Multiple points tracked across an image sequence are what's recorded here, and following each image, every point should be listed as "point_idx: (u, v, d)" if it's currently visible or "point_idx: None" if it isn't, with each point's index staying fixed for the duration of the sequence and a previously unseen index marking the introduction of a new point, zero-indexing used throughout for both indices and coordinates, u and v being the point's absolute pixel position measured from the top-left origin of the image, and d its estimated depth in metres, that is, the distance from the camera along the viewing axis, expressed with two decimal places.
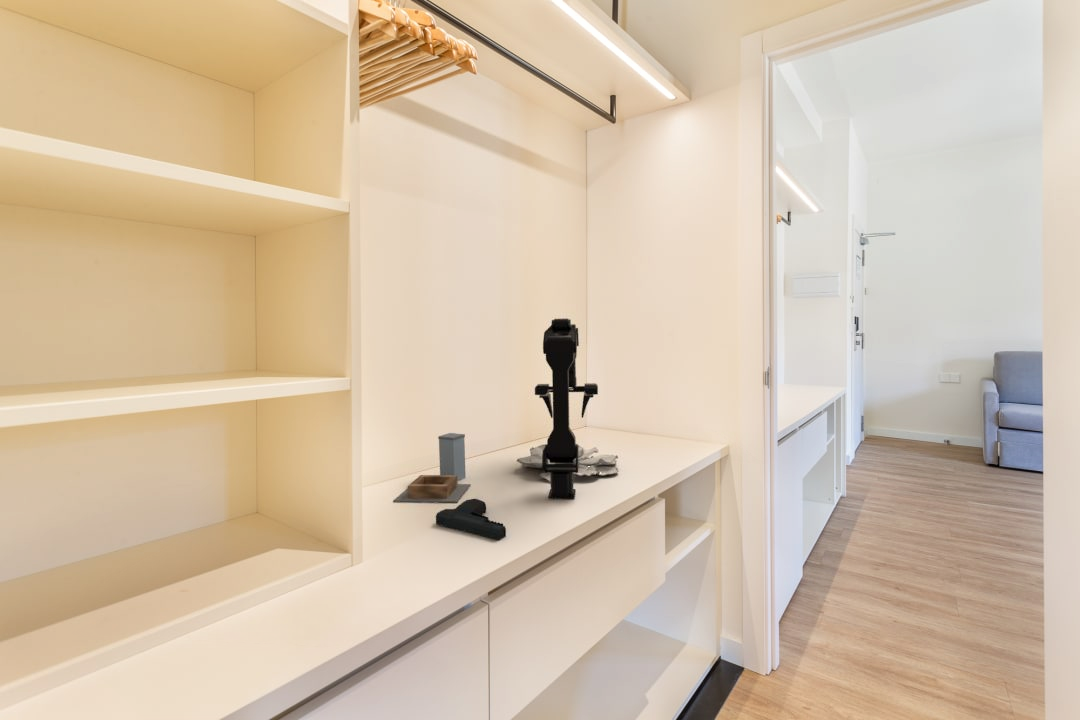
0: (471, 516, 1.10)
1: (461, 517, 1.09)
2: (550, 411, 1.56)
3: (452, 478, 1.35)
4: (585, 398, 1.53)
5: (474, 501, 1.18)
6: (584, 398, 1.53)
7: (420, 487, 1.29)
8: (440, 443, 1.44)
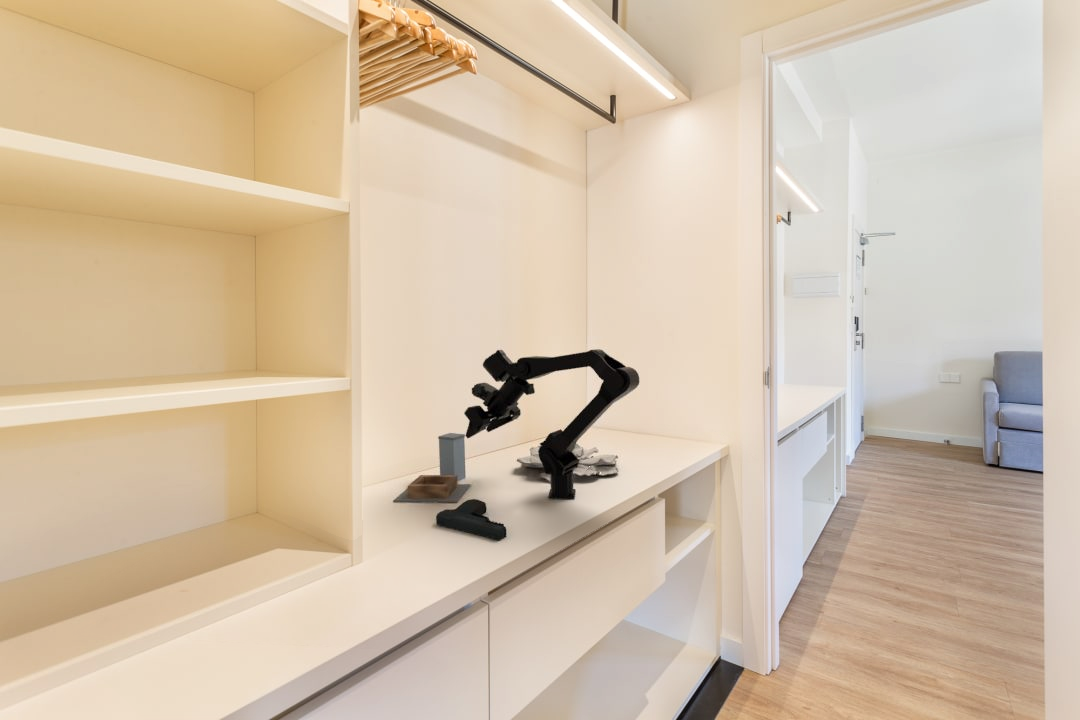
0: (471, 516, 1.10)
1: (461, 518, 1.09)
2: (473, 435, 1.37)
3: (452, 478, 1.35)
4: (507, 422, 1.44)
5: (474, 501, 1.18)
6: (507, 422, 1.44)
7: (420, 487, 1.29)
8: (440, 443, 1.44)
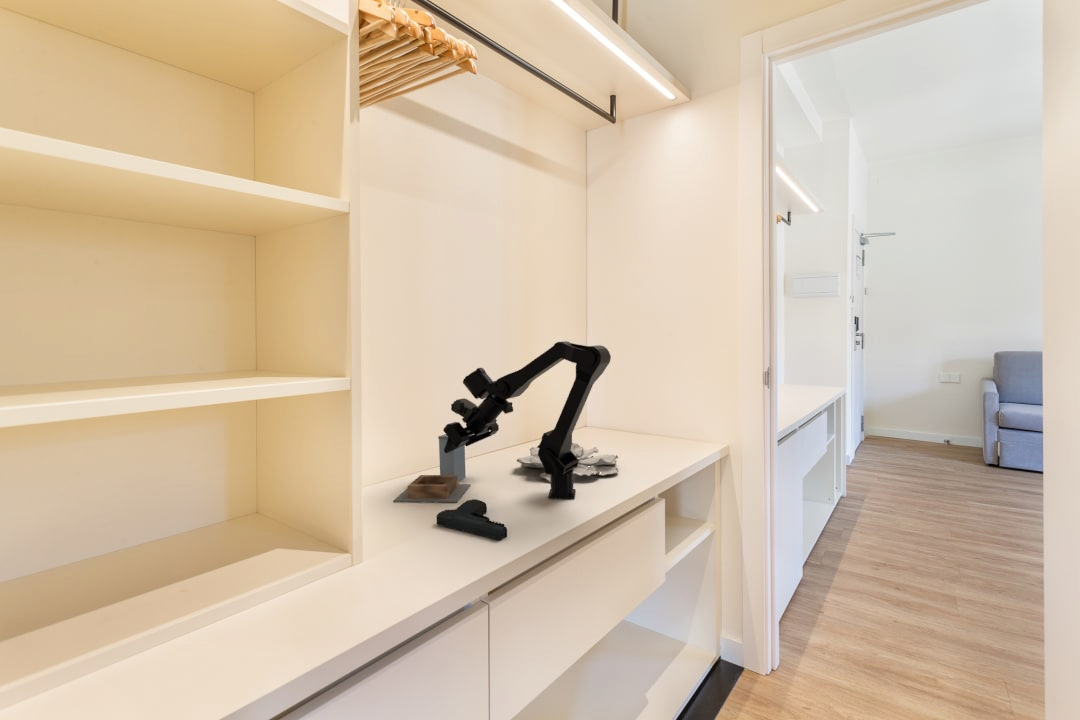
0: (472, 517, 1.10)
1: (462, 518, 1.09)
2: (451, 450, 1.39)
3: (452, 478, 1.35)
4: (485, 437, 1.47)
5: (474, 501, 1.18)
6: None
7: (420, 487, 1.29)
8: (440, 443, 1.44)
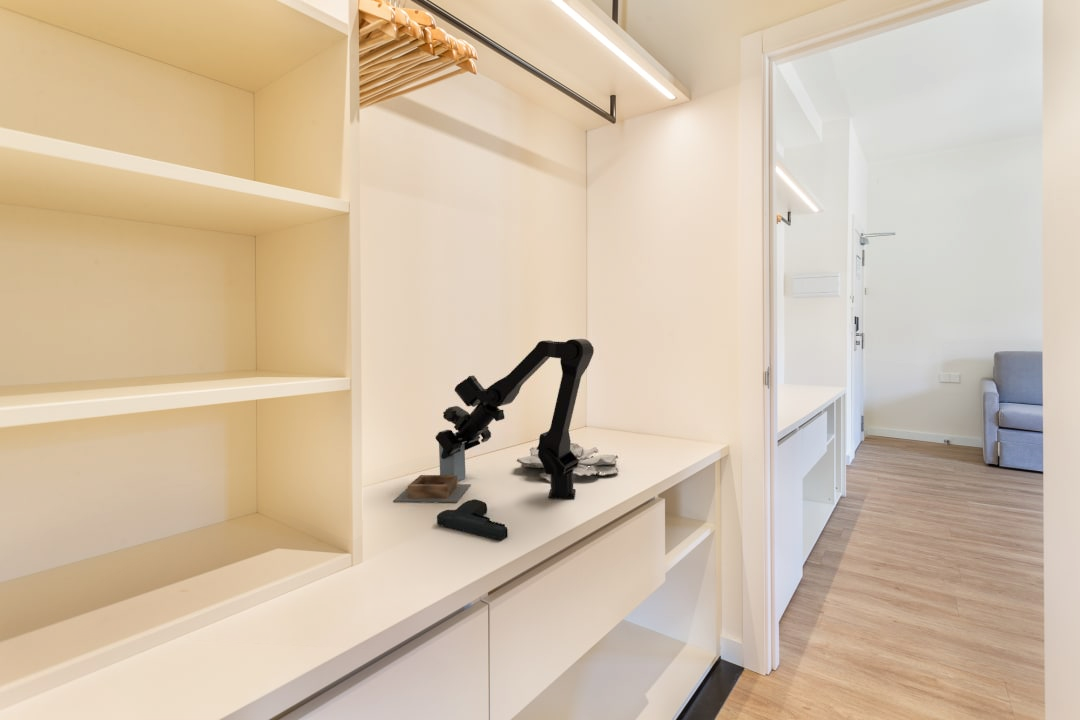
0: (472, 517, 1.09)
1: (462, 518, 1.09)
2: (448, 456, 1.42)
3: (452, 478, 1.35)
4: (474, 446, 1.46)
5: (475, 502, 1.18)
6: (473, 446, 1.46)
7: (420, 487, 1.29)
8: None
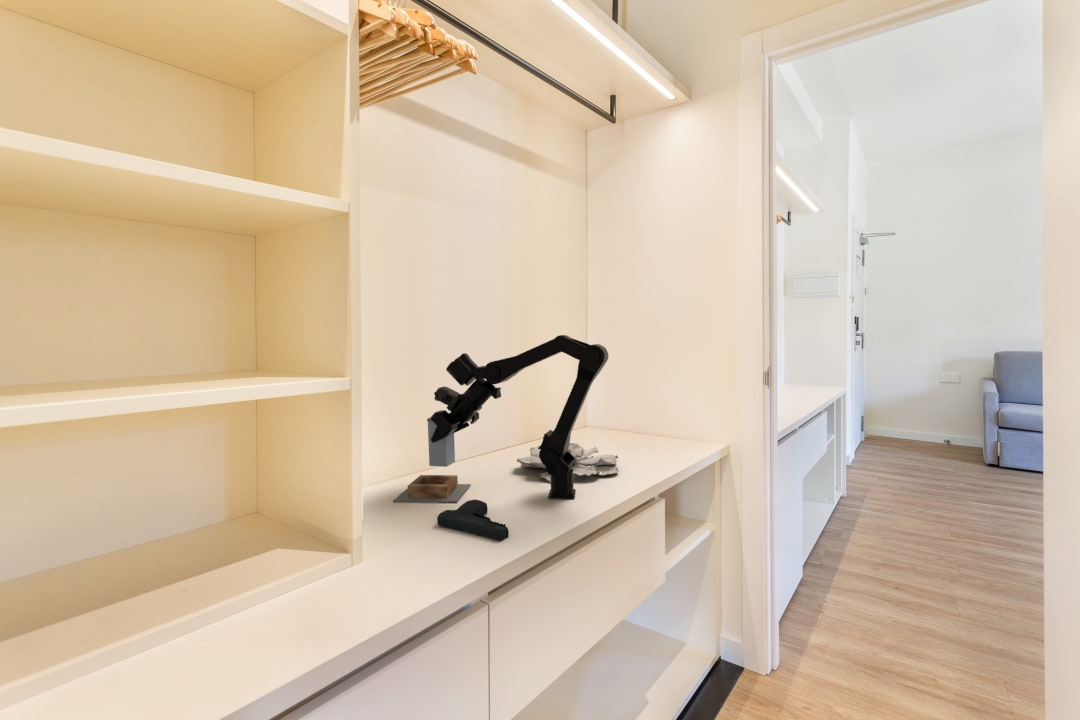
0: (473, 517, 1.09)
1: (463, 518, 1.09)
2: (439, 439, 1.35)
3: (452, 478, 1.35)
4: None
5: (475, 502, 1.18)
6: (463, 428, 1.40)
7: (420, 487, 1.29)
8: (429, 426, 1.36)
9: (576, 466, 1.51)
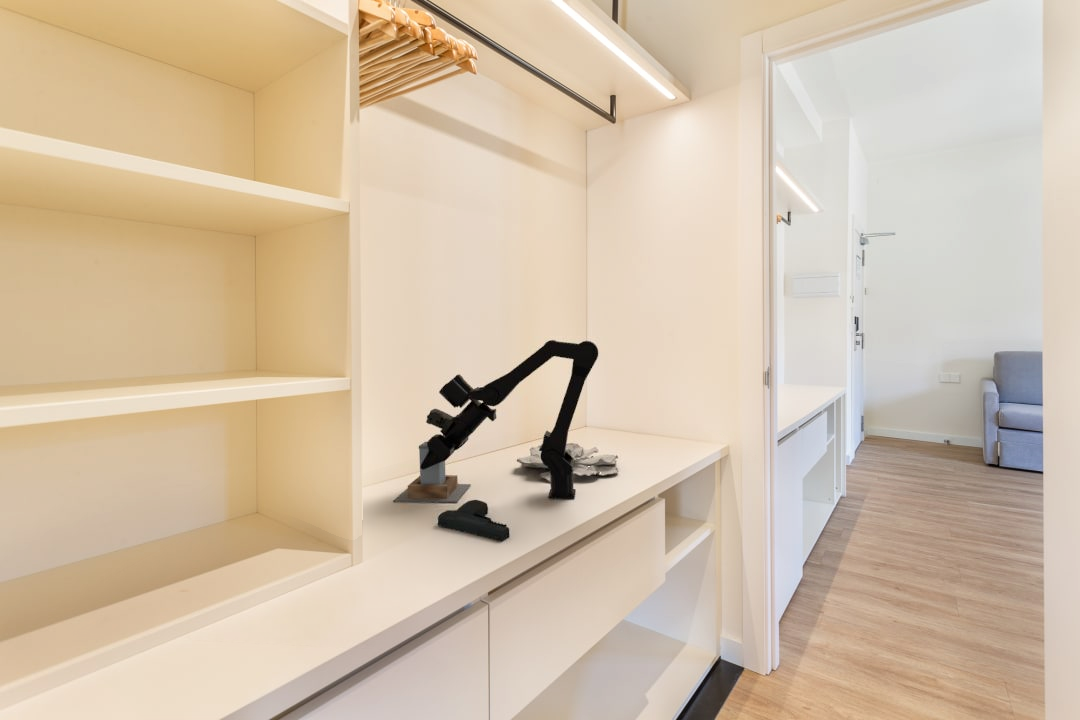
0: (474, 517, 1.09)
1: (463, 519, 1.08)
2: None
3: (452, 478, 1.35)
4: None
5: (475, 502, 1.18)
6: (456, 449, 1.38)
7: (420, 487, 1.29)
8: (421, 453, 1.31)
9: (576, 466, 1.51)
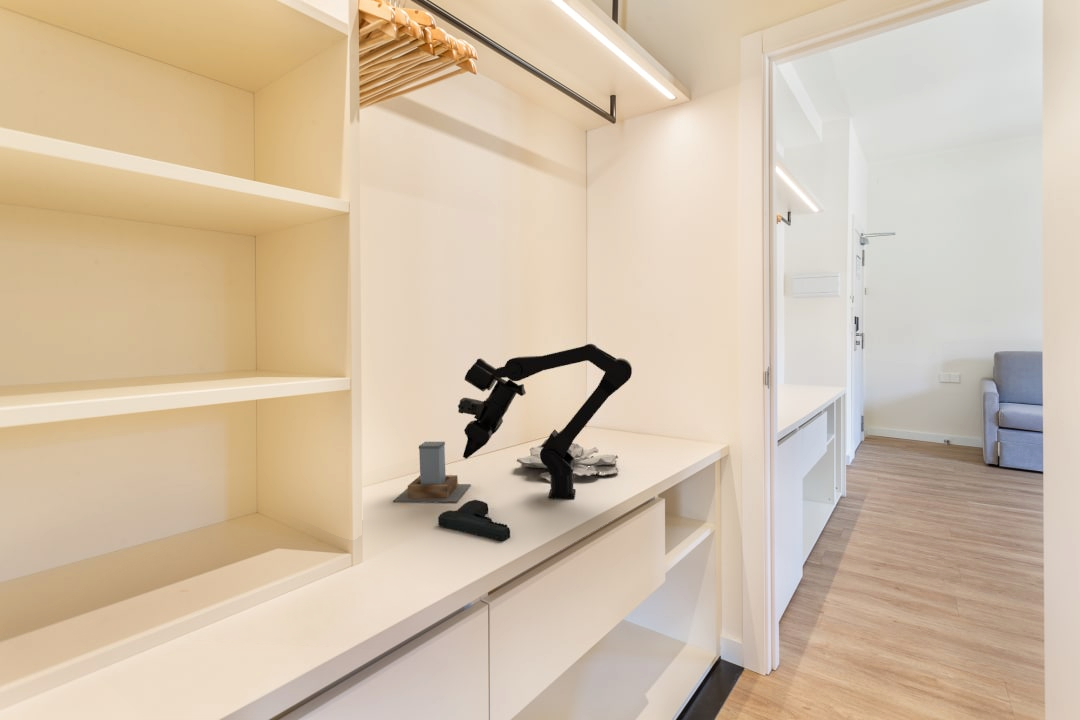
0: (474, 517, 1.09)
1: (464, 519, 1.08)
2: (472, 453, 1.28)
3: (452, 478, 1.35)
4: (494, 432, 1.38)
5: (476, 502, 1.17)
6: None
7: (420, 487, 1.29)
8: (421, 453, 1.31)
9: (576, 466, 1.51)
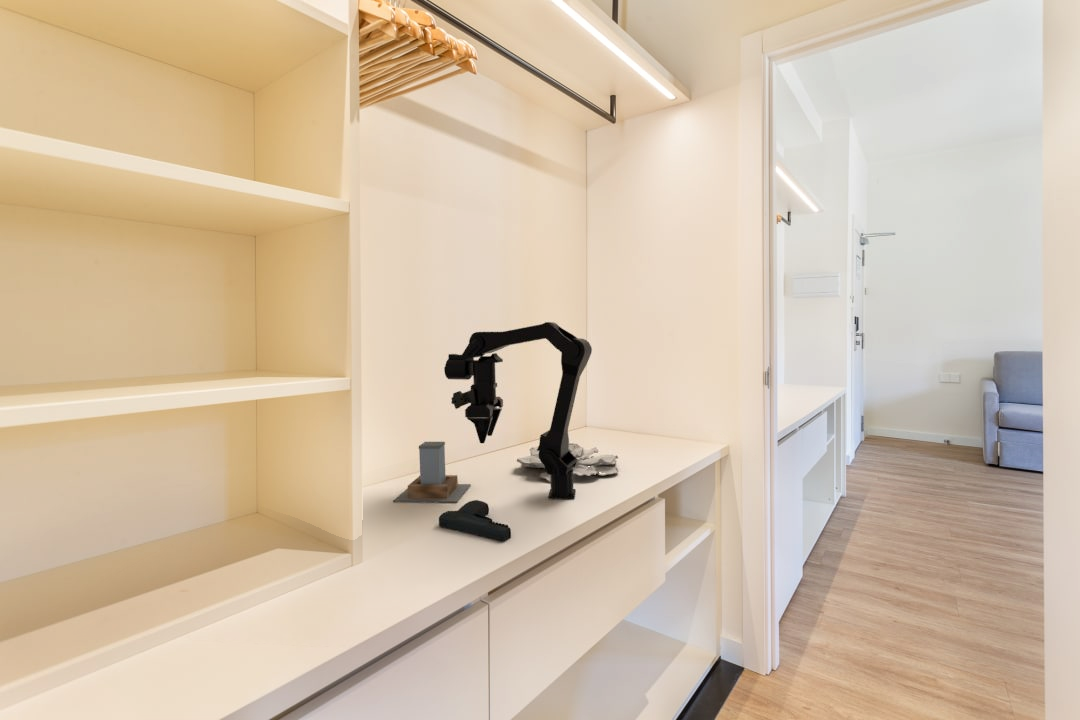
0: (475, 518, 1.09)
1: (464, 519, 1.08)
2: (486, 435, 1.31)
3: (452, 478, 1.35)
4: None
5: (476, 502, 1.17)
6: (499, 412, 1.41)
7: (420, 487, 1.29)
8: (421, 453, 1.31)
9: (576, 466, 1.51)
